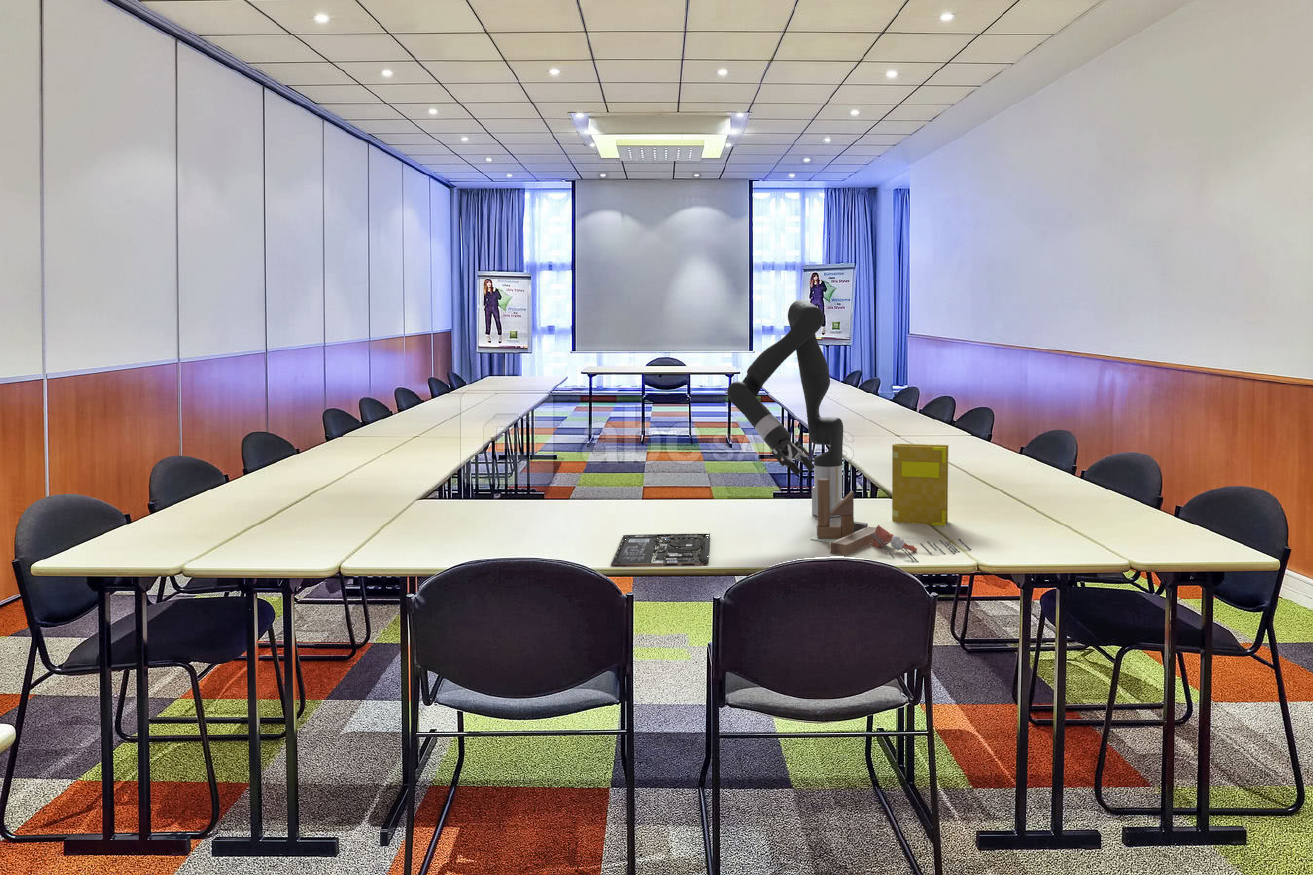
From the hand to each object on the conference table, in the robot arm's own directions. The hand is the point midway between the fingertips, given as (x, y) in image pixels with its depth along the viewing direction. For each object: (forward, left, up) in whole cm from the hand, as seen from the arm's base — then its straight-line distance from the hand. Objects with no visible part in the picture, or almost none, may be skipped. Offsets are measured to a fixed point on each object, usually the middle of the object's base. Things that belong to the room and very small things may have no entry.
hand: (805, 471), depth 285 cm
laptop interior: (-27, -38, -21) cm, 51 cm away
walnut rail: (+16, -3, -20) cm, 26 cm away
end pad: (+10, 0, -20) cm, 22 cm away
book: (+22, +35, -20) cm, 46 cm away
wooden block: (+9, +1, -20) cm, 22 cm away
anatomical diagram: (+37, 0, -21) cm, 42 cm away
